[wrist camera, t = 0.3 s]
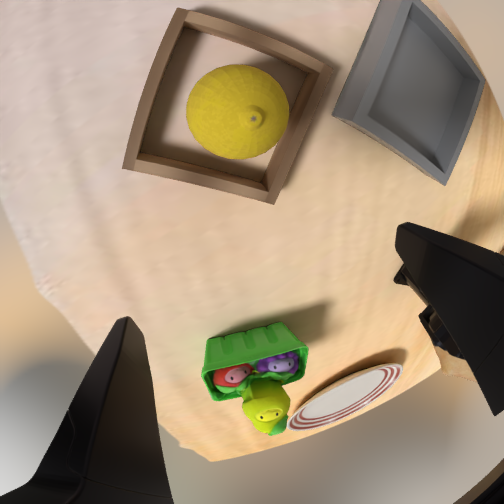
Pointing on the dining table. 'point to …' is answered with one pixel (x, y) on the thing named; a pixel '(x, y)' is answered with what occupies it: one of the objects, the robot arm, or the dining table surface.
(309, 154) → the dining table surface
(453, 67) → the tray
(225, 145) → the lemon
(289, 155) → the lemon holder
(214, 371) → the fruit basket
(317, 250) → the dining table surface
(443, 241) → the robot arm
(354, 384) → the dinner plate
